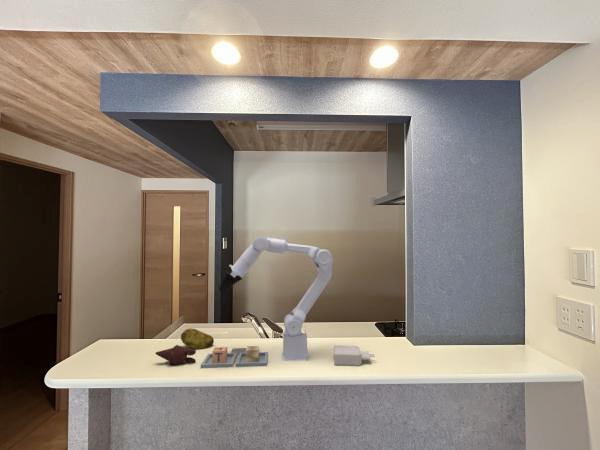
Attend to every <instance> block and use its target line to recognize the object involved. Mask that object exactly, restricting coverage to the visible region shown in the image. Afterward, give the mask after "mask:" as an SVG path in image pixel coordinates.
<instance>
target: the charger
mask: <svg viewBox="0 0 600 450" xmlns="http://www.w3.org/2000/svg"><path fill="white" fill-rule="evenodd" d="M371 358H376V356H375V354H374V353H370V352H369V351H364V350H363V351H361V349H360V347H359V346H358V345H345V344H344V345H342V344H341V345H338V344H334V345H333V361H334V362H333V363H334V366H351V367H352V366H355V367H359V366H361V365H362V364H363V363H362V361H370V360H371Z"/></svg>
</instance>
